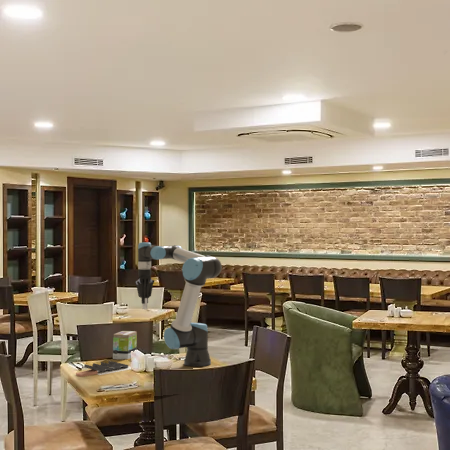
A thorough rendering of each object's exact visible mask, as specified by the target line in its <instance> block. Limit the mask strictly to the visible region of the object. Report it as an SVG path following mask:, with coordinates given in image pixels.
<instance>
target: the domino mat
mask: <svg viewBox="0 0 450 450" xmlns="http://www.w3.org/2000/svg"><path fill="white" fill-rule="evenodd" d="M131 367H132V366H129V365H128V368H125V367H121V369H116V368H113V371H111V370H106V369H105V372H101V371H98V374H97V375H98V376H102V375H108V374H113V373H119V372H124V371H128V370H129V371H130V370H132V369H131ZM111 368H112V367H111Z"/></svg>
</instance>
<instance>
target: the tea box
mask: <svg viewBox="0 0 450 450" xmlns="http://www.w3.org/2000/svg"><path fill="white" fill-rule="evenodd" d="M137 335H138V332H137V331H135V330H134V331H131V330H122V331H118V332H116V333H113V336H112V337H113V338H112V339H113V340H112V342H113V343H112V359H113V360H129V359H131V351H135V350H137V348H138V346H137V344H138V342H137V341H138V338H137V337H138V336H137Z"/></svg>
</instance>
